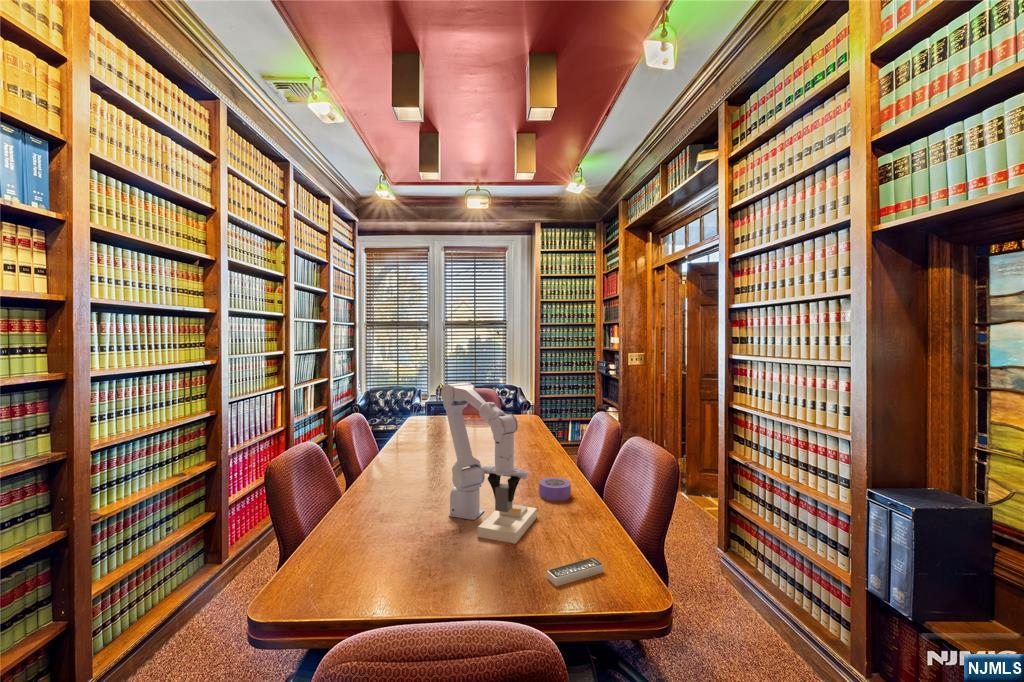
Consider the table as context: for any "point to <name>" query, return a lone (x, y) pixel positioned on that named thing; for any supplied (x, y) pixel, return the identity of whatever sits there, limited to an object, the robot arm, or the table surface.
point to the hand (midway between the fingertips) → (504, 499)
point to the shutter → (515, 511)
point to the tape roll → (554, 489)
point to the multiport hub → (574, 571)
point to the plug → (502, 498)
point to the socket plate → (506, 526)
